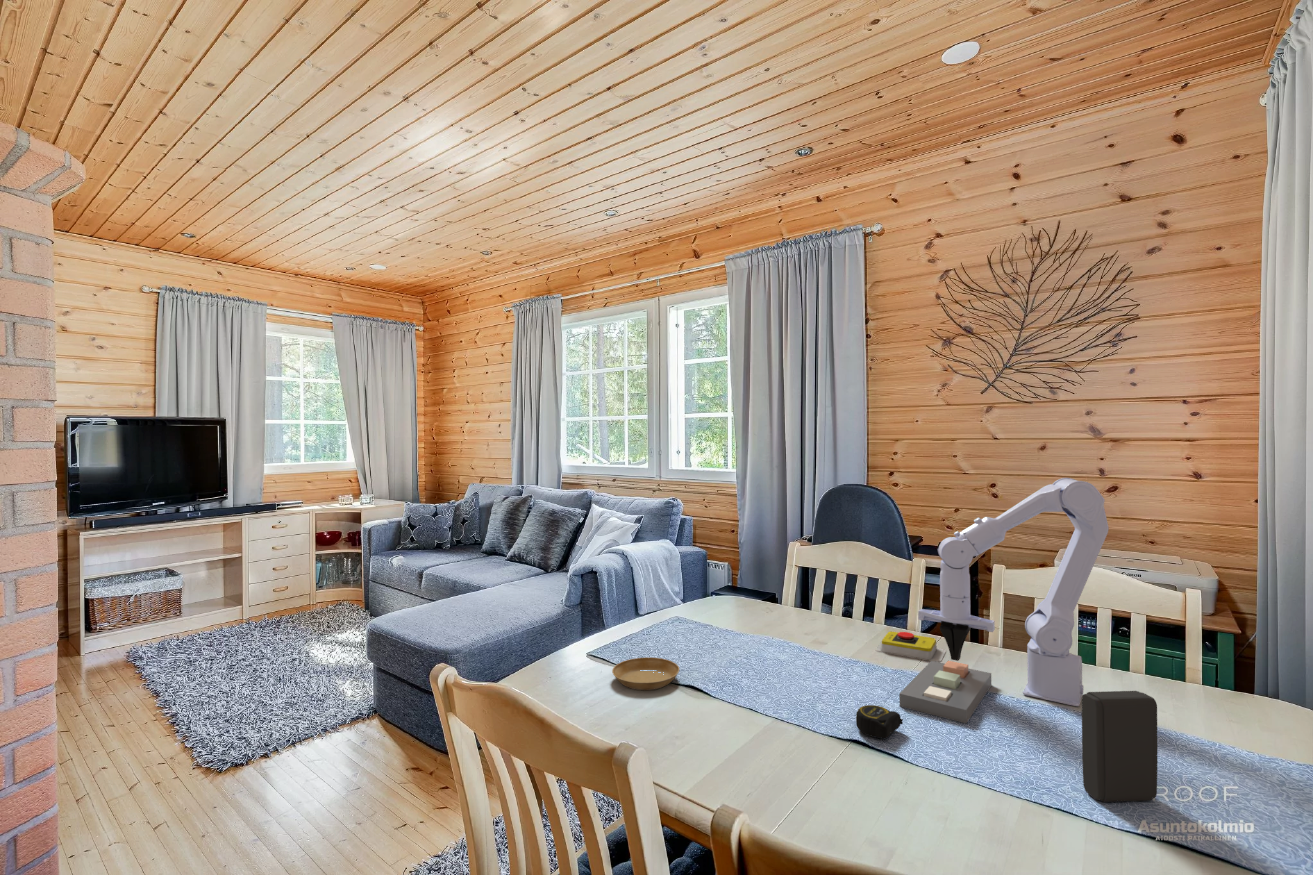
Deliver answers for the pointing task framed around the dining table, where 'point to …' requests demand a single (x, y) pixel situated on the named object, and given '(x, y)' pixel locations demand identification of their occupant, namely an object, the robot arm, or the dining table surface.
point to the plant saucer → (645, 673)
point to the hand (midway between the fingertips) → (955, 658)
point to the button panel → (961, 698)
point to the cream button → (937, 693)
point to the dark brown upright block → (1119, 746)
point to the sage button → (947, 679)
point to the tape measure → (877, 721)
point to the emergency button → (911, 646)
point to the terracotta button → (956, 668)
